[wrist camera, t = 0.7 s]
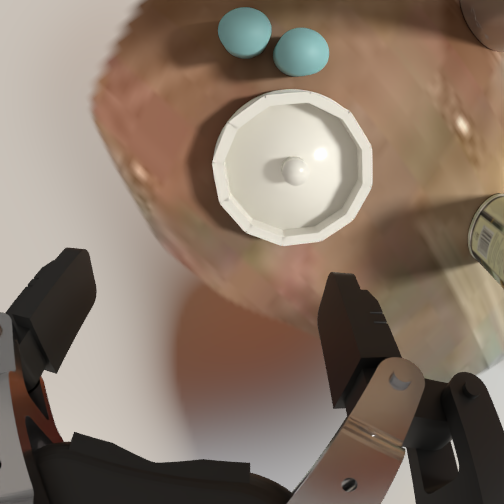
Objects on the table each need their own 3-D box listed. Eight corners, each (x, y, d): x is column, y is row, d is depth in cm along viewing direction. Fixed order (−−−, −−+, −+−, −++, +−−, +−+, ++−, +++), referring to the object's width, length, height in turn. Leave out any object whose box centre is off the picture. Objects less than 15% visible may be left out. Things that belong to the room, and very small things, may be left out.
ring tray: (310, 59, 24) (315, 57, 22) (390, 184, 30) (399, 192, 28) (181, 154, 28) (176, 159, 26) (275, 260, 34) (276, 272, 32)
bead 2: (299, 28, 22) (308, 19, 18) (325, 62, 24) (338, 58, 20) (263, 51, 23) (266, 44, 20) (290, 84, 25) (298, 84, 21)
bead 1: (249, 11, 21) (249, -2, 18) (277, 42, 23) (282, 34, 19) (213, 35, 23) (207, 27, 19) (241, 66, 24) (239, 63, 20)
